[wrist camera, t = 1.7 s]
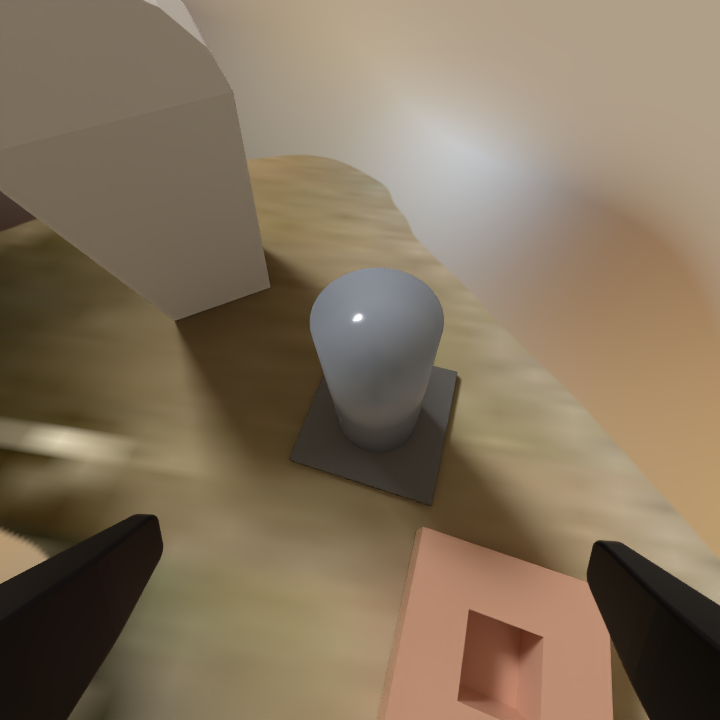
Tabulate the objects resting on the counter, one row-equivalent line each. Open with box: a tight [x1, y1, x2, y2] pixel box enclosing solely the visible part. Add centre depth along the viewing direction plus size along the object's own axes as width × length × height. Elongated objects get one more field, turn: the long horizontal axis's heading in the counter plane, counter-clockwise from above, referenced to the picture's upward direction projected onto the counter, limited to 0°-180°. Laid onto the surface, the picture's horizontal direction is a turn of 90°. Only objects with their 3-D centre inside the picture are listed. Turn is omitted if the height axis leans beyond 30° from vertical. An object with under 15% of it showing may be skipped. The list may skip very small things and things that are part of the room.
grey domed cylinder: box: [310, 268, 444, 452], centre depth 17 cm, size 5×5×10 cm
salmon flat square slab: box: [377, 527, 613, 720], centre depth 15 cm, size 8×8×4 cm
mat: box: [289, 366, 457, 506], centre depth 22 cm, size 9×9×1 cm
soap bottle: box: [0, 0, 270, 321], centre depth 19 cm, size 12×10×26 cm
